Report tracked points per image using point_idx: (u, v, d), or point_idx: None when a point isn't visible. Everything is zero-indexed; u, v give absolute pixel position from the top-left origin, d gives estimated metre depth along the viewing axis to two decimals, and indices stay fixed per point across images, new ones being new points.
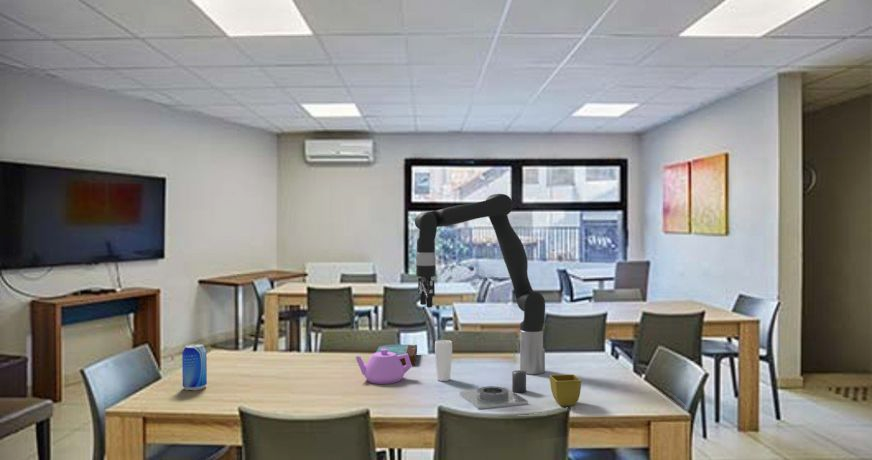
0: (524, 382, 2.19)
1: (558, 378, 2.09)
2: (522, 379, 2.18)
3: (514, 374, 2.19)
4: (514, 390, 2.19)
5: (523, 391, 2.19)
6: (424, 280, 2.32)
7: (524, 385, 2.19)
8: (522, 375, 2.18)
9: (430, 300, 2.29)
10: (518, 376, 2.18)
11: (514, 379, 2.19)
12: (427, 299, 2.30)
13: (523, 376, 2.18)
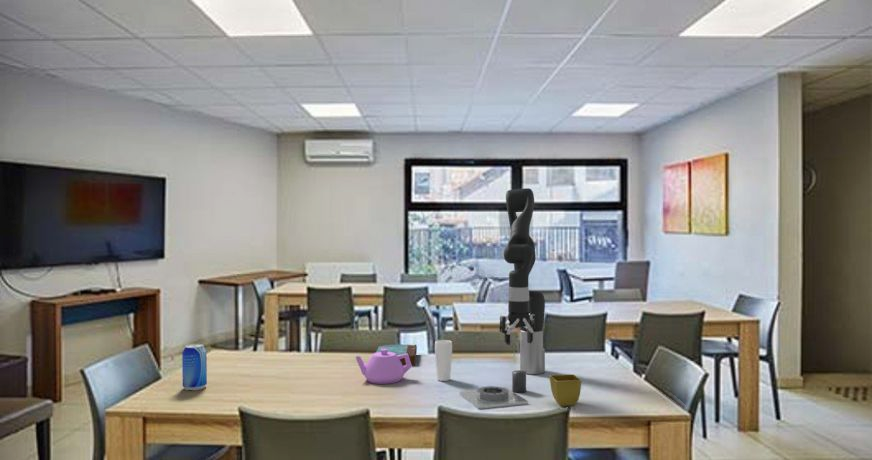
0: (524, 382, 2.19)
1: (558, 378, 2.09)
2: (522, 379, 2.18)
3: (514, 374, 2.19)
4: (514, 390, 2.19)
5: (523, 391, 2.19)
6: (523, 316, 2.20)
7: (524, 385, 2.19)
8: (522, 375, 2.18)
9: None
10: (518, 376, 2.18)
11: (514, 379, 2.19)
12: (531, 334, 2.21)
13: (523, 376, 2.18)
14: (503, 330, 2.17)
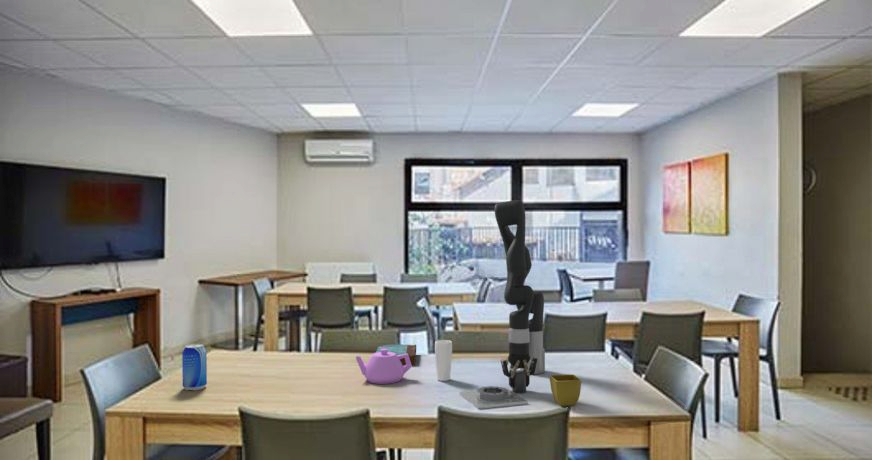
0: (524, 382, 2.19)
1: (558, 378, 2.09)
2: (522, 379, 2.18)
3: None
4: (514, 390, 2.19)
5: (523, 391, 2.19)
6: (524, 357, 2.20)
7: (524, 385, 2.19)
8: (522, 375, 2.18)
9: None
10: (518, 376, 2.18)
11: (514, 379, 2.19)
12: (528, 378, 2.21)
13: (523, 376, 2.18)
14: (507, 374, 2.18)
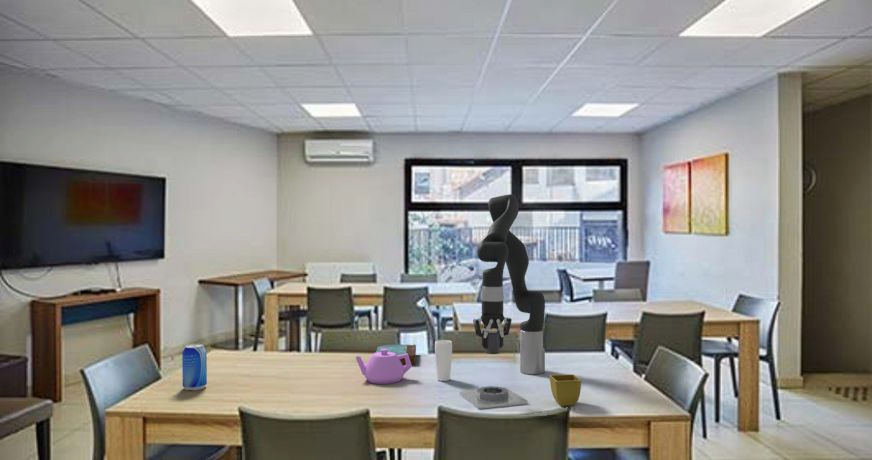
0: (497, 343, 2.09)
1: (558, 378, 2.09)
2: (496, 339, 2.08)
3: (487, 334, 2.09)
4: (487, 351, 2.09)
5: (497, 352, 2.09)
6: (497, 317, 2.10)
7: (497, 346, 2.09)
8: (496, 335, 2.08)
9: None
10: (491, 336, 2.08)
11: (487, 339, 2.09)
12: (501, 339, 2.11)
13: (496, 336, 2.08)
14: (480, 333, 2.08)
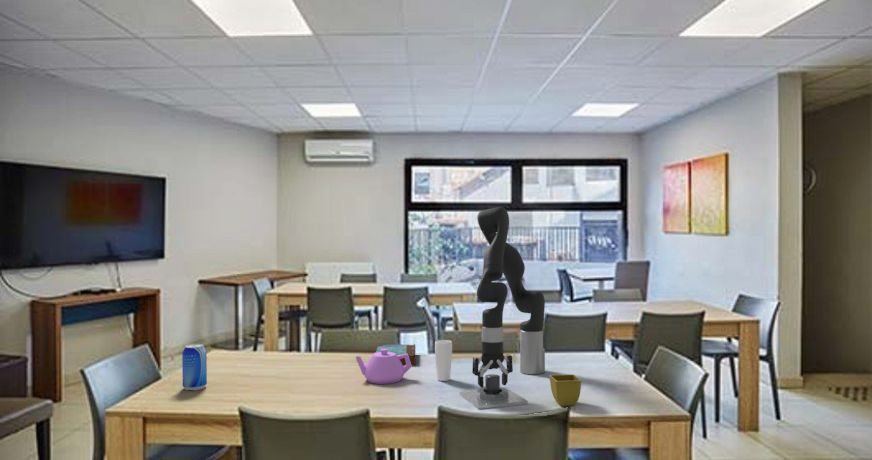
0: (497, 387, 2.09)
1: (558, 378, 2.09)
2: (496, 383, 2.09)
3: (487, 378, 2.09)
4: None
5: None
6: (498, 357, 2.10)
7: (497, 390, 2.09)
8: (496, 379, 2.08)
9: None
10: (491, 380, 2.08)
11: (487, 383, 2.09)
12: (505, 376, 2.11)
13: (496, 380, 2.09)
14: (476, 372, 2.08)
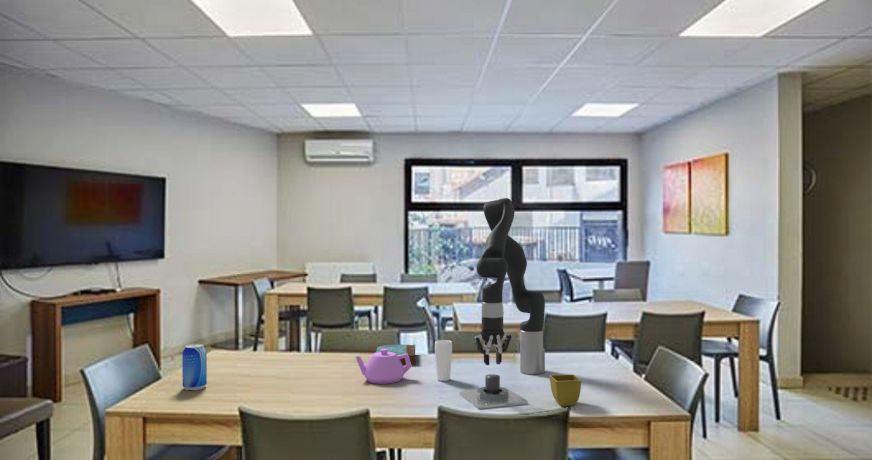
0: (497, 387, 2.09)
1: (558, 378, 2.09)
2: (496, 383, 2.09)
3: (487, 378, 2.09)
4: None
5: None
6: (497, 333, 2.10)
7: (497, 390, 2.09)
8: (496, 379, 2.08)
9: None
10: (491, 380, 2.08)
11: (487, 383, 2.09)
12: (500, 355, 2.11)
13: (496, 380, 2.09)
14: (482, 350, 2.08)
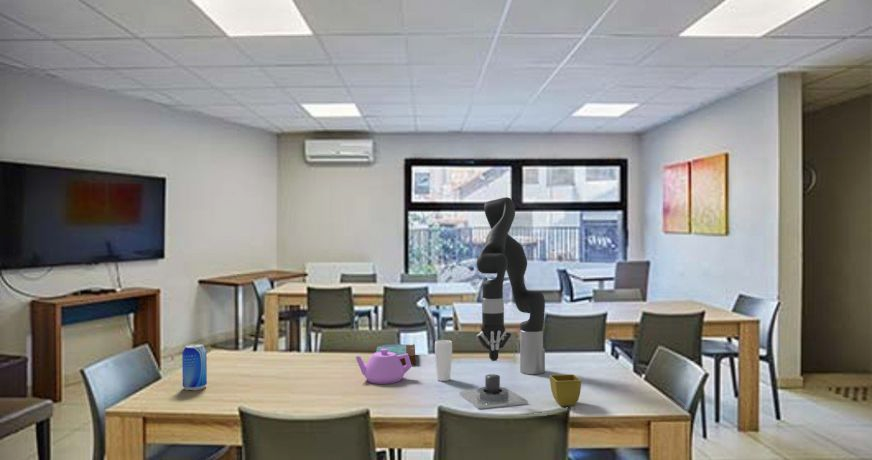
0: (497, 387, 2.09)
1: (558, 378, 2.09)
2: (496, 383, 2.09)
3: (487, 378, 2.09)
4: None
5: None
6: (498, 328, 2.10)
7: (497, 390, 2.09)
8: (496, 379, 2.09)
9: None
10: (491, 380, 2.08)
11: (487, 383, 2.09)
12: (496, 351, 2.10)
13: (496, 380, 2.09)
14: (487, 346, 2.09)
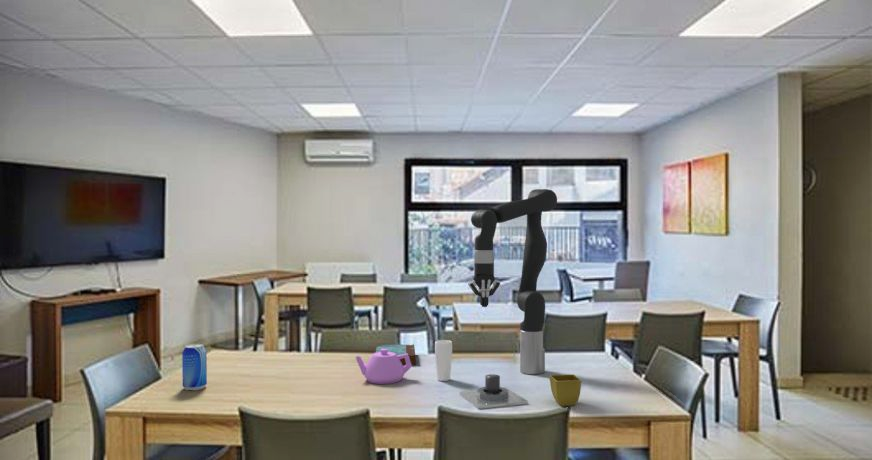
0: (497, 387, 2.09)
1: (558, 378, 2.09)
2: (496, 383, 2.09)
3: (487, 378, 2.09)
4: None
5: None
6: (489, 277, 2.33)
7: (497, 390, 2.09)
8: (496, 379, 2.09)
9: None
10: (491, 380, 2.08)
11: (487, 383, 2.09)
12: (487, 299, 2.33)
13: (496, 380, 2.09)
14: (479, 293, 2.31)
